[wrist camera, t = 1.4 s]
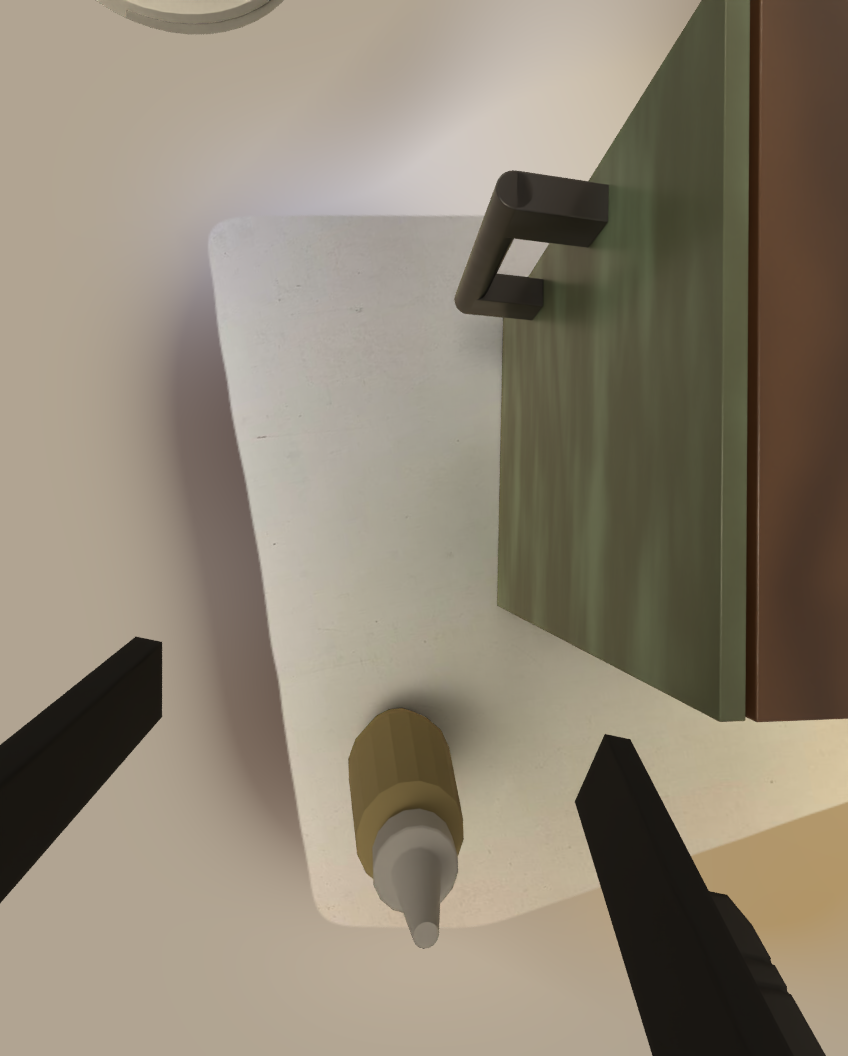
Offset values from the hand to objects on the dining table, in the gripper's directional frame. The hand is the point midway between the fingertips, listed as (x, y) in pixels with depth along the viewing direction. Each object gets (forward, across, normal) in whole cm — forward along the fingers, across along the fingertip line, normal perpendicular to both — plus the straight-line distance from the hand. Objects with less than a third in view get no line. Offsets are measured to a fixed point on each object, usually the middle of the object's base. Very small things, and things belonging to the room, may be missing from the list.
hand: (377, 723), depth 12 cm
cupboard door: (+28, +4, +4) cm, 29 cm away
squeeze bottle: (+19, +2, -20) cm, 28 cm away
